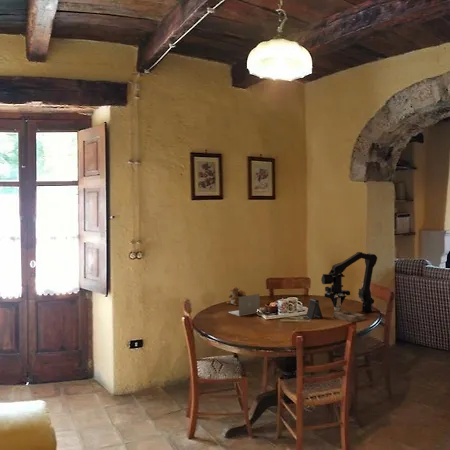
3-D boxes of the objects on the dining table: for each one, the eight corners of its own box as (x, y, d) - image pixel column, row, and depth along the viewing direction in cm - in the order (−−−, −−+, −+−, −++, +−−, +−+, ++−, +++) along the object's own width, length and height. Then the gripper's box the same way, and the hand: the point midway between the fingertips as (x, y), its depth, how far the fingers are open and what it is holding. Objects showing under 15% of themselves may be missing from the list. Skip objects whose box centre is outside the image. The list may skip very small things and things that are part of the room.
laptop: (248, 309, 348) (248, 291, 347) (259, 312, 338) (259, 293, 337) (228, 313, 337) (227, 294, 336) (239, 316, 327) (238, 297, 326)
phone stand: (311, 319, 315) (311, 300, 315) (305, 317, 321) (305, 299, 320) (322, 317, 319) (322, 299, 319) (317, 315, 325) (316, 297, 324)
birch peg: (337, 310, 333) (337, 296, 332) (342, 311, 329) (342, 298, 328) (332, 310, 330) (332, 297, 330) (337, 312, 326) (337, 298, 326)
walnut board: (346, 314, 326) (346, 310, 325) (364, 319, 312) (364, 314, 312) (333, 317, 319) (333, 312, 319) (351, 322, 306) (351, 317, 306)
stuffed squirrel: (225, 304, 366) (225, 286, 365) (240, 301, 374) (240, 284, 373) (233, 306, 358) (233, 288, 357) (248, 303, 366) (248, 286, 365)
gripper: (338, 280, 340) (338, 302, 341) (318, 283, 330) (318, 306, 331) (350, 282, 331) (350, 305, 332) (330, 285, 321) (330, 309, 322)
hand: (337, 306), depth 329 cm, fingers closed on birch peg, 4 cm apart
